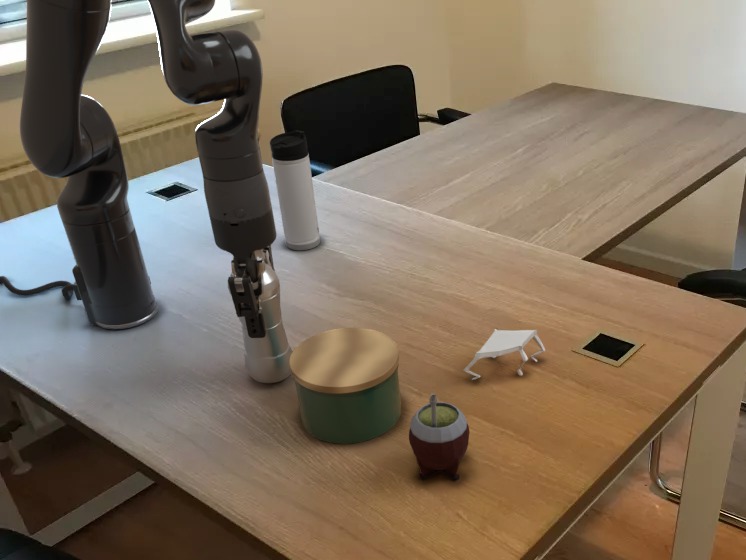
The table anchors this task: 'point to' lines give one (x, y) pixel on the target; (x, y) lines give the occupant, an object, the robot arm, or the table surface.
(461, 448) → the mate gourd
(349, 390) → the crock
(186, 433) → the table surface
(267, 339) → the silver metal bottle
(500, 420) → the table surface
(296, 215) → the travel mug
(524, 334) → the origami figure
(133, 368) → the table surface
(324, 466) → the table surface
